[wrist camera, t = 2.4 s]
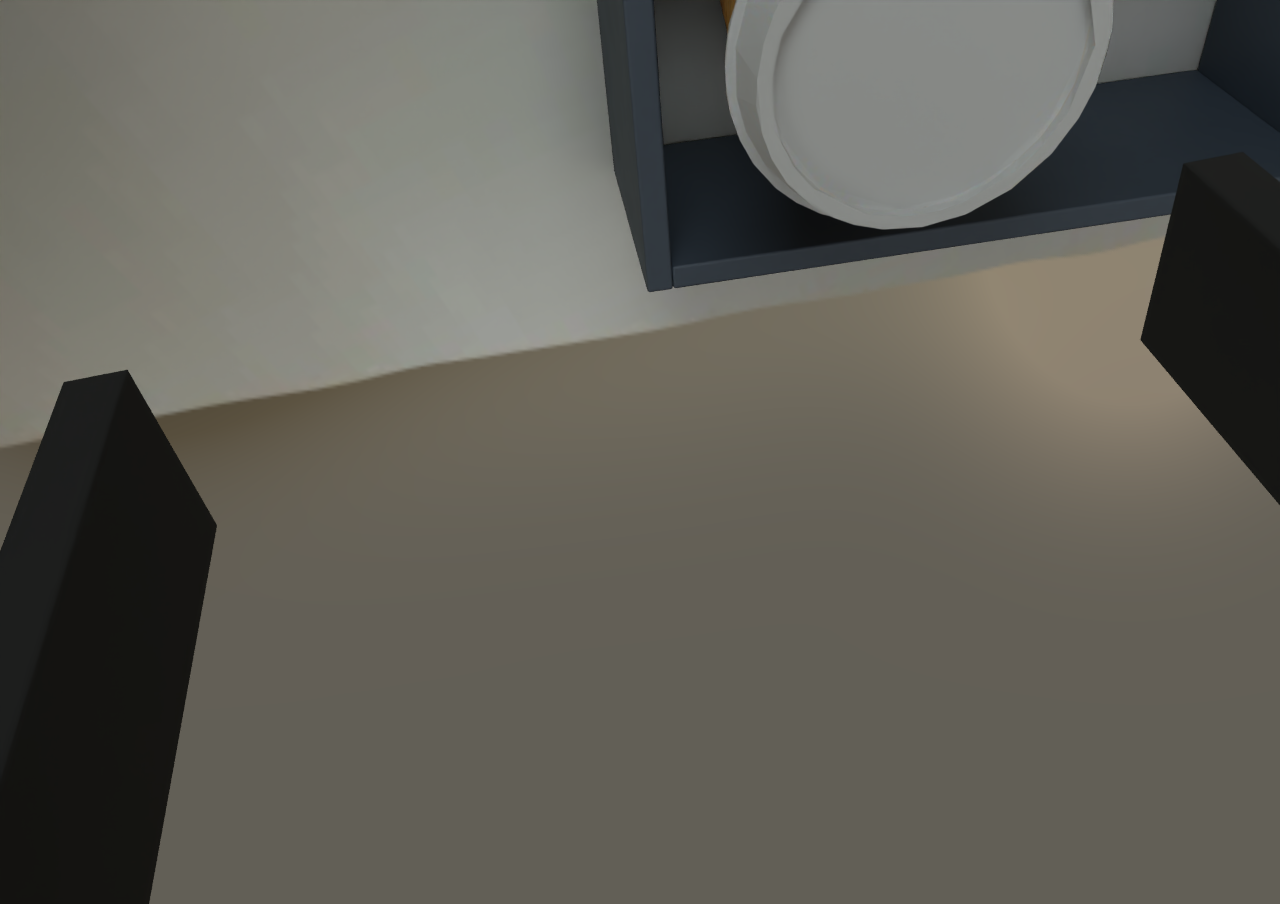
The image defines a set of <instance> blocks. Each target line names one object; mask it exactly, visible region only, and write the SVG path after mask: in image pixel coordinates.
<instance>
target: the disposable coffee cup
mask: <svg viewBox="0 0 1280 904" xmlns="http://www.w3.org/2000/svg"><path fill="white" fill-rule="evenodd" d="M720 4H721V7H722V12H723V16H724V20H725V24H726V29H727V42H726V51H725V79H726V96H727V101H728V105H729V110H730V113H731V116H732V119H733V123H734V126H735V129H736V131H737V134H738V136H739V139H740V141H741V143H742V145H743V147H744V148H745V150H746V152H747V154H748V155H749V157H750V159H751V160H752V162H753V164H754V165H755V166H756V167H757V168H758V169H759V171H760V172H761V173H762V174H763V175H764V176H765V177H766V178H767V179H768V180H769V181H770V182H771V184H772V185H773V186H774V187H775V188H776V189H778V190H779V191H781V192H782V193H783V194H785V195H786V196H788V197H789V198H790V199H792V200H793V201H795V202H796V203H798V204H800V205H803V206H805V207H807V208H809V209H811V210H814V211H816V212H818V213H820V214H824V215H828V216H831V217H833V218H836V219H839V220H842V221H845V222H847V223H850V224H853V225H859V226H865V227H871V228H878V229H898V228H914V227H924V226H928V225H931V224H934V223H938V222H941V221H945V220H948V219H952V218H955V217H959V216H962V215H965V214H967V213H969V212H971V211H973V210H975V209H976V208H978V207H980V206H982V205H984V204H985V203H987V202H989V201H991V200H993V199H994V198H996V197H998V196H1000V195H1002V194H1003V193H1005V192H1007V191H1009V190H1011V189H1012V188H1013V187H1014V186H1015V185H1017V184H1018V183H1019V182H1020V181H1021V180H1022V179H1023V178H1024V177H1026V176H1027V175H1028V174H1029V173H1030V172H1031V171H1032V170H1034V169H1035V168H1036V167H1037V166H1038V165H1039V164H1040V163H1042V162H1043V161H1044V160H1045V159H1046V158H1047V157H1048V156H1050V155H1051V154H1052V152H1053V151H1054V150H1055V149H1056V147H1057V146H1058V145H1059V143H1060V142H1061V141H1062V139H1063V138H1064V137H1065V135H1066V134H1067V133H1068V132H1069V130H1070V129H1071V128H1072V126H1073V125H1074V124H1075V122H1076V121H1077V120H1078V118H1079V117H1080V115H1081V113H1082V111H1083V109H1084V107H1085V106H1086V104H1087V102H1088V100H1089V98H1090V96H1091V94H1092V93H1093V91H1094V89H1095V87H1096V84H1097V81H1098V78H1099V75H1100V72H1101V69H1102V66H1103V63H1104V60H1105V57H1106V53H1107V49H1108V45H1109V41H1110V37H1111V33H1112V26H1113V0H720Z"/></svg>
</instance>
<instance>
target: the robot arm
mask: <svg viewBox="0 0 1280 904" xmlns="http://www.w3.org/2000/svg"><path fill="white" fill-rule="evenodd" d="M1141 341H1142V342H1143V344H1144V345H1145V346H1146V347H1147V348H1148V349H1149V351H1150V352H1151V353H1152V354H1153V355H1154V356H1155V358H1156V359H1157V360H1158V361H1159V362H1160V364H1161V365H1162V366H1163V367H1164V368H1165V369H1166V371H1167V372H1168V373H1169V374H1170V375H1171V377H1172V378H1173V379H1174V380H1175V382H1176V383H1177V384H1178V385H1179V386H1180V387H1181V389H1182V390H1183V391H1184V392H1185V393H1186V395H1187V396H1188V397H1189V398H1190V399H1191V400H1192V402H1193V403H1194V404H1195V405H1196V406H1197V408H1198V409H1199V410H1200V411H1201V412H1202V414H1203V415H1204V416H1205V417H1206V418H1207V419H1208V421H1209V422H1210V423H1211V424H1212V425H1213V427H1214V428H1215V429H1216V430H1217V431H1218V433H1219V434H1220V435H1221V436H1222V437H1223V438H1224V440H1225V441H1226V442H1227V443H1228V444H1229V445H1230V447H1231V448H1232V449H1233V450H1234V451H1235V453H1236V454H1237V455H1238V456H1239V457H1240V459H1241V460H1242V461H1243V462H1244V463H1245V464H1246V466H1247V467H1248V468H1249V469H1250V470H1251V471H1252V473H1253V474H1254V475H1255V476H1256V478H1257V479H1258V480H1259V481H1260V482H1261V483H1262V485H1263V486H1264V487H1265V488H1266V489H1267V491H1268V492H1269V493H1270V494H1271V495H1272V497H1274V499H1275V500H1276V501H1277V502H1278V504H1279V505H1280V182H1279V181H1278V180H1277V179H1276V178H1274V177H1273V176H1272V175H1271V174H1270V173H1268V172H1267V171H1266V170H1265V169H1263V168H1262V167H1261V166H1260V165H1258V164H1257V163H1256V162H1255V161H1254V160H1252V159H1251V158H1250V157H1249V156H1247V155H1246V154H1245V153H1244V152H1239V153H1234V154H1229V155H1224V156H1219V157H1213V158H1208V159H1203V160H1198V161H1193V162H1188V163H1183V167H1182V171H1181V175H1180V179H1179V183H1178V187H1177V191H1176V196H1175V200H1174V204H1173V208H1172V212H1171V216H1170V220H1169V224H1168V229H1167V233H1166V237H1165V241H1164V245H1163V249H1162V253H1161V257H1160V262H1159V266H1158V270H1157V274H1156V278H1155V282H1154V286H1153V290H1152V295H1151V299H1150V303H1149V307H1148V311H1147V315H1146V320H1145V323H1144V327H1143V331H1142V336H1141ZM216 528H217V525H216V523H215V521H214V519H213V518H212V516H211V514H210V513H209V511H208V509H207V507H206V506H205V504H204V502H203V500H202V499H201V497H200V495H199V493H198V492H197V490H196V488H195V486H194V485H193V483H192V481H191V480H190V478H189V476H188V474H187V472H186V471H185V469H184V467H183V465H182V464H181V462H180V460H179V459H178V457H177V455H176V453H175V452H174V450H173V448H172V446H171V445H170V443H169V441H168V439H167V438H166V436H165V434H164V432H163V431H162V429H161V427H160V426H159V424H158V422H157V420H156V419H155V417H154V415H153V413H152V412H151V410H150V408H149V406H148V405H147V403H146V401H145V399H144V398H143V396H142V394H141V392H140V391H139V389H138V387H137V386H136V384H135V382H134V380H133V379H132V377H131V375H130V373H129V372H128V370H124V371H119V372H114V373H108V374H103V375H98V376H93V377H88V378H83V379H78V380H73V381H68V382H64V383H63V385H62V388H61V391H60V393H59V396H58V399H57V401H56V404H55V407H54V409H53V412H52V415H51V417H50V420H49V423H48V425H47V428H46V431H45V433H44V436H43V439H42V441H41V444H40V447H39V449H38V452H37V455H36V457H35V460H34V463H33V465H32V468H31V471H30V473H29V476H28V479H27V481H26V484H25V487H24V489H23V492H22V495H21V497H20V500H19V503H18V505H17V508H16V511H15V513H14V516H13V519H12V521H11V524H10V527H9V530H8V532H7V535H6V537H5V540H4V543H3V545H2V548H1V550H0V904H149V901H150V895H151V890H152V883H153V879H154V872H155V867H156V861H157V856H158V850H159V845H160V839H161V834H162V828H163V822H164V817H165V812H166V806H167V801H168V794H169V789H170V784H171V778H172V773H173V767H174V761H175V756H176V750H177V744H178V739H179V733H180V728H181V723H182V717H183V711H184V705H185V700H186V694H187V689H188V684H189V678H190V672H191V667H192V661H193V655H194V650H195V645H196V639H197V633H198V628H199V622H200V616H201V611H202V605H203V600H204V594H205V588H206V583H207V578H208V572H209V567H210V561H211V555H212V549H213V544H214V538H215V533H216Z"/></svg>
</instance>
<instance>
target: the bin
mask: <svg viewBox="0 0 1280 904" xmlns="http://www.w3.org/2000/svg"><path fill="white" fill-rule="evenodd" d="M597 6H598V16H599V25H600V35H601V45H602V55H603V65H604V74H605V84H606V94H607V104H608V114H609V123H610V133H611V143H612V153H613V163H614V171H615V175H616V179H617V182H618V186H619V189H620V193H621V197H622V200H623V204H624V207H625V211H626V215H627V218H628V222H629V226H630V229H631V233H632V236H633V240H634V244H635V247H636V251H637V254H638V258H639V262H640V265H641V269H642V273H643V276H644V280H645V283H646V287H647V290H648V291H649V292H654V291H660V290H667V289H672V287H673V286H674V288H680V287H686V286H693V285H700V284H706V283H713V282H720V281H727V280H733V279H740V278H747V277H753V276H760V275H767V274H773V273H780V272H787V271H794V270H800V269H807V268H814V267H820V266H827V265H834V264H841V263H847V262H854V261H861V260H867V259H874V258H881V257H888V256H894V255H901V254H908V253H914V252H921V251H928V250H935V249H941V248H948V247H955V246H961V245H968V244H975V243H982V242H988V241H995V240H1002V239H1008V238H1015V237H1022V236H1028V235H1035V234H1042V233H1049V232H1055V231H1062V230H1069V229H1075V228H1082V227H1089V226H1096V225H1102V224H1109V223H1116V222H1122V221H1129V220H1136V219H1143V218H1149V217H1156V216H1163V215H1169V214H1171V212H1172V208H1173V204H1174V200H1175V196H1176V191H1177V187H1178V183H1179V179H1180V175H1181V171H1182V167H1183V163H1188V162H1193V161H1198V160H1203V159H1208V158H1213V157H1219V156H1224V155H1229V154H1234V153H1239V152H1244V153H1245V154H1246V155H1247V156H1249V157H1250V158H1251V159H1252V160H1254V161H1255V162H1256V163H1257V164H1258V165H1260V166H1261V167H1262V168H1263V169H1265V170H1266V171H1267V172H1268V173H1270V174H1271V175H1272V176H1273V177H1274V178H1276V179H1277V180H1278V181H1279V182H1280V0H1217V2H1216V6H1215V9H1214V13H1213V16H1212V20H1211V24H1210V27H1209V31H1208V34H1207V38H1206V42H1205V45H1204V49H1203V53H1202V56H1201V60H1200V63H1199V67H1198V71H1197V70H1193V71H1185V72H1178V73H1171V74H1164V75H1157V76H1150V77H1143V78H1136V79H1129V80H1122V81H1115V82H1108V83H1100V84H1096V87H1095V89H1094V91H1093V93H1092V94H1091V96H1090V98H1089V100H1088V102H1087V104H1086V106H1085V107H1084V109H1083V111H1082V113H1081V115H1080V117H1079V118H1078V120H1077V121H1076V122H1075V124H1074V125H1073V126H1072V128H1071V129H1070V130H1069V132H1068V133H1067V134H1066V135H1065V137H1064V138H1063V139H1062V141H1061V142H1060V143H1059V145H1058V146H1057V147H1056V149H1055V150H1054V151H1053V152H1052V154H1051V155H1050V156H1048V157H1047V158H1046V159H1045V160H1044V161H1043V162H1042V163H1040V164H1039V165H1038V166H1037V167H1036V168H1035V169H1034V170H1032V171H1031V172H1030V173H1029V174H1028V175H1027V176H1026V177H1024V178H1023V179H1022V180H1021V181H1020V182H1019V183H1018V184H1017V185H1015V186H1014V187H1013V188H1012V189H1011V190H1009V191H1007V192H1005V193H1003V194H1002V195H1000V196H998V197H996V198H994V199H993V200H991V201H989V202H987V203H985V204H984V205H982V206H980V207H978V208H976V209H975V210H973V211H971V212H969V213H967V214H965V215H962V216H959V217H955V218H952V219H948V220H945V221H941V222H938V223H934V224H931V225H928V226H924V227H914V228H898V229H878V228H871V227H865V226H859V225H853V224H850V223H847V222H845V221H842V220H839V219H836V218H833V217H831V216H828V215H824V214H820V213H818V212H816V211H814V210H811V209H809V208H807V207H805V206H803V205H800V204H798V203H796V202H795V201H793V200H792V199H790V198H789V197H788V196H786V195H785V194H783V193H782V192H781V191H779V190H778V189H776V188H775V187H774V186H773V185H772V184H771V182H770V181H769V180H768V179H767V178H766V177H765V176H764V175H763V174H762V173H761V172H760V171H759V169H758V168H757V167H756V166H755V165H754V164H753V162H752V160H751V159H750V157H749V155H748V154H747V152H746V150H745V148H744V147H743V145H742V143H741V141H740V139H739V136H738V135H732V136H725V137H718V138H711V139H704V140H697V141H690V142H683V143H676V144H669V145H663V132H662V117H661V102H660V87H659V72H658V58H657V43H656V28H655V13H654V0H597Z"/></svg>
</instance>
